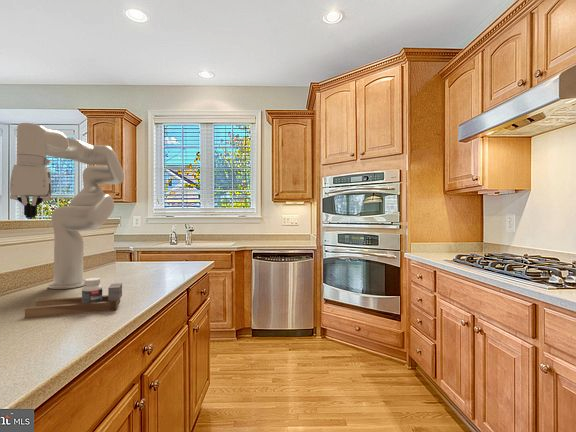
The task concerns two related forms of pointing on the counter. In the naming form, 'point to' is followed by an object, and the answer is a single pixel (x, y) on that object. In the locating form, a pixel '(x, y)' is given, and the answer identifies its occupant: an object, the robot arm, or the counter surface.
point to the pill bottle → (92, 291)
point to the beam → (76, 304)
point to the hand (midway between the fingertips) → (30, 217)
